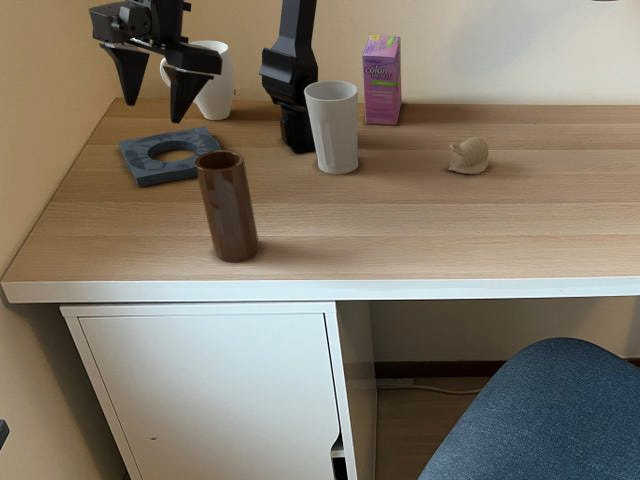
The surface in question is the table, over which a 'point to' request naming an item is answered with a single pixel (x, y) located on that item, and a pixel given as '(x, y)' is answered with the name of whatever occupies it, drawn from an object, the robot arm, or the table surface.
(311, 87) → the cup
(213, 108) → the mug
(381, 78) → the box
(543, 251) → the table surface
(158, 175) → the ring plate
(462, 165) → the decorative ornament
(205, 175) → the brown tumbler
